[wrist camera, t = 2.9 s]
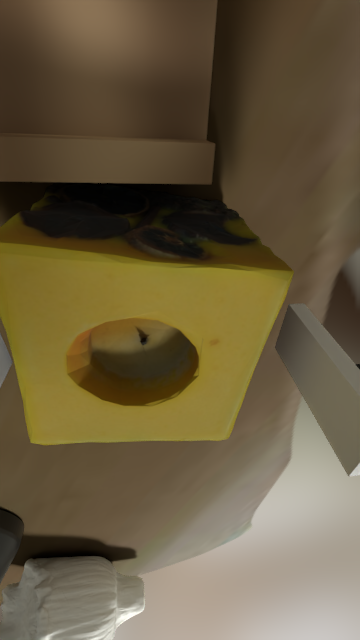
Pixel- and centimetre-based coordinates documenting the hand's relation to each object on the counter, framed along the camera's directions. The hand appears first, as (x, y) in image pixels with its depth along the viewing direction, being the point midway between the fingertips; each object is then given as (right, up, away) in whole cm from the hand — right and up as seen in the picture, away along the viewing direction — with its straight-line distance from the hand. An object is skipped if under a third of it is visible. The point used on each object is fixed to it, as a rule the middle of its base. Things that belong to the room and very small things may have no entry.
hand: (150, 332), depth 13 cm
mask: (-16, -42, +38) cm, 59 cm away
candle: (-1, +4, +6) cm, 8 cm away
